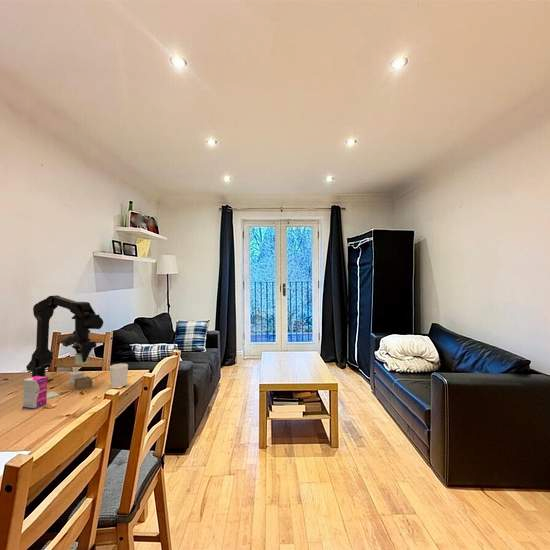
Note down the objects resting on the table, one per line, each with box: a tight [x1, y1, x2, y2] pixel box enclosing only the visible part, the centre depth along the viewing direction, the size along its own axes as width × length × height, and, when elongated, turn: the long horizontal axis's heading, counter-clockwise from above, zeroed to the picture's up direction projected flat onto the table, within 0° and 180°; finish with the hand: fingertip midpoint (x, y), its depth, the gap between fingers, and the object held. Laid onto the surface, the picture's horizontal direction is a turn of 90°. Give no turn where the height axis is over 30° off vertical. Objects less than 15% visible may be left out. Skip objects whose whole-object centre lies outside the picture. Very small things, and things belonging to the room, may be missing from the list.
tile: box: [47, 391, 61, 400], centre depth 145 cm, size 7×7×1 cm
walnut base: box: [73, 376, 93, 391], centre depth 158 cm, size 6×6×4 cm
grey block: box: [69, 371, 85, 384], centre depth 165 cm, size 4×4×4 cm
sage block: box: [74, 353, 90, 366], centre depth 157 cm, size 4×4×4 cm
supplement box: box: [22, 376, 48, 410], centre depth 134 cm, size 6×6×12 cm
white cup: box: [109, 363, 129, 387], centre depth 158 cm, size 8×8×10 cm
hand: (82, 361), depth 157 cm, fingers closed on sage block, 4 cm apart
